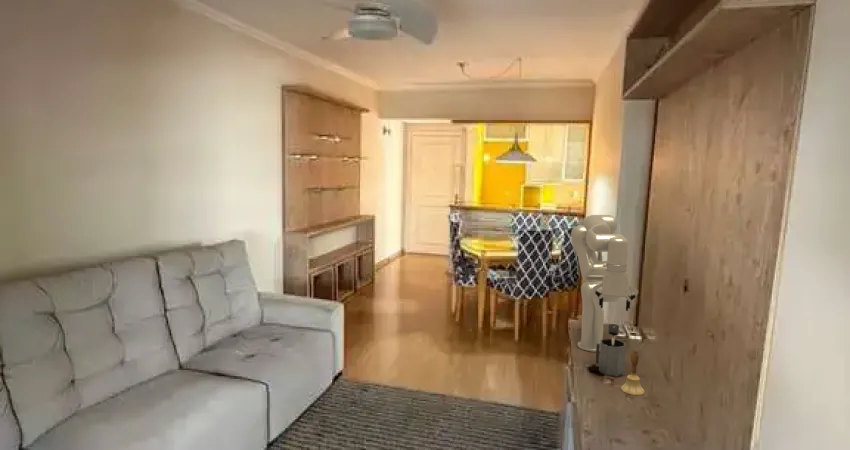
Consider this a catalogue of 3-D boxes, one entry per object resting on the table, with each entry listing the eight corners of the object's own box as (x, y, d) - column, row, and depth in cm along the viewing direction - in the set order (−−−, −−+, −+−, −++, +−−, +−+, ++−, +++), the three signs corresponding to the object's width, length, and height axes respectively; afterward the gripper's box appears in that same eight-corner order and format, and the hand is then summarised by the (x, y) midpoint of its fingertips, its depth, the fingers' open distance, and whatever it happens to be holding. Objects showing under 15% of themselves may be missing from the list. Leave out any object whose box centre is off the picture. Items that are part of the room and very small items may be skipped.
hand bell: (643, 387, 191) (645, 347, 189) (645, 396, 184) (647, 355, 182) (620, 384, 194) (622, 345, 192) (621, 393, 186) (623, 352, 184)
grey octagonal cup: (595, 365, 212) (597, 337, 211) (624, 368, 208) (625, 340, 207) (595, 374, 203) (596, 345, 202) (624, 378, 199) (626, 348, 198)
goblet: (603, 359, 209) (605, 321, 207) (620, 362, 207) (622, 323, 205) (603, 365, 203) (605, 326, 201) (620, 368, 201) (622, 328, 199)
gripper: (593, 268, 200) (591, 309, 202) (640, 271, 194) (637, 313, 196) (594, 264, 207) (592, 303, 209) (639, 267, 201) (636, 308, 203)
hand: (614, 308), depth 203 cm, fingers open, 9 cm apart
